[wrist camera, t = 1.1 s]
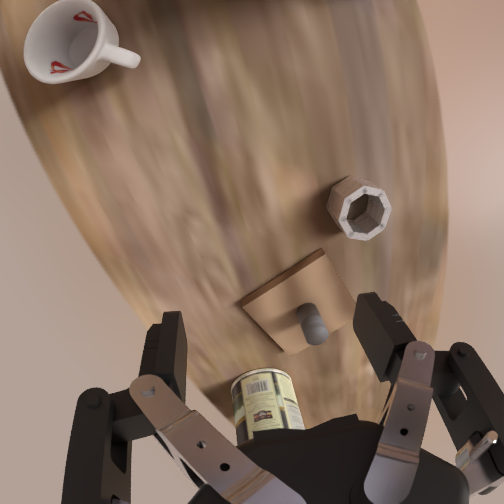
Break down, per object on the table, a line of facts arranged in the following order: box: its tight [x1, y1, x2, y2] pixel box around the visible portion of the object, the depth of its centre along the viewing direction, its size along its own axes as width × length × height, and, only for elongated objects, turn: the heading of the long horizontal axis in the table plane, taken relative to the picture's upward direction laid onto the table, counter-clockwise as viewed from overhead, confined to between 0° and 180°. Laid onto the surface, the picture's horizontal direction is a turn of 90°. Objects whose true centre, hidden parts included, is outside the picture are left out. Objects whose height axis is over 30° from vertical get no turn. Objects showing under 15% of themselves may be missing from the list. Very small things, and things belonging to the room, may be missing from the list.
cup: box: [23, 0, 141, 84], centre depth 21 cm, size 11×8×8 cm
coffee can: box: [231, 368, 305, 445], centre depth 43 cm, size 10×10×14 cm
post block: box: [241, 248, 356, 357], centre depth 39 cm, size 12×12×6 cm
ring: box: [326, 176, 392, 241], centre depth 34 cm, size 6×6×4 cm
